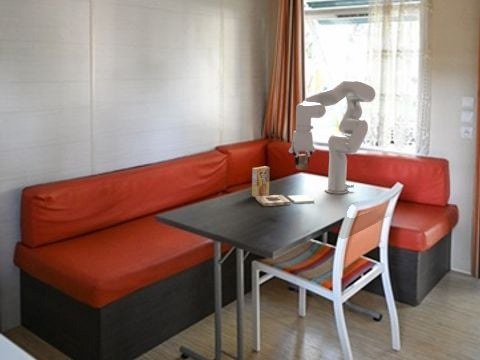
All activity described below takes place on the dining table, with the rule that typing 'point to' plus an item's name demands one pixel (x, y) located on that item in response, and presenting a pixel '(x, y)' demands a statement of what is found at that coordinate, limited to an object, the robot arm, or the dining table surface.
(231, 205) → the dining table surface
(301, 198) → the board
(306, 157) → the walnut block
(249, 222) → the dining table surface
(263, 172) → the candy box
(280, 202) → the pocket plate
